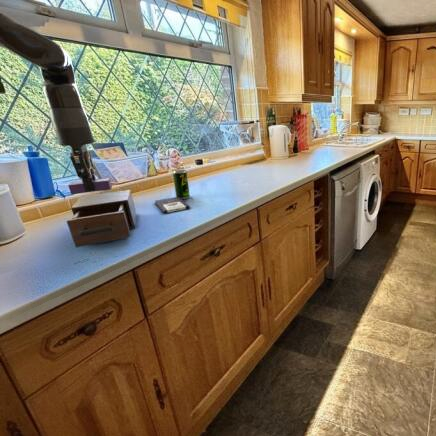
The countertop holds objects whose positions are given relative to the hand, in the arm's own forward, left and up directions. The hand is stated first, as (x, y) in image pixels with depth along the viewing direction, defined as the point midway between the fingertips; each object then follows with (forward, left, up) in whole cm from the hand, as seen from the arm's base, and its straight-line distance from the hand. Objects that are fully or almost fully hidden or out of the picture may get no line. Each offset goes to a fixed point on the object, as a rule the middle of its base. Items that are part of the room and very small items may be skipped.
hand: (92, 188), depth 85 cm
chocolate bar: (+19, +25, -15) cm, 35 cm away
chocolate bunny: (-2, +39, -15) cm, 42 cm away
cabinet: (0, +12, -15) cm, 20 cm away
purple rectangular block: (0, 0, 0) cm, 0 cm away
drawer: (0, -1, -14) cm, 14 cm away
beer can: (+24, +35, -15) cm, 45 cm away
